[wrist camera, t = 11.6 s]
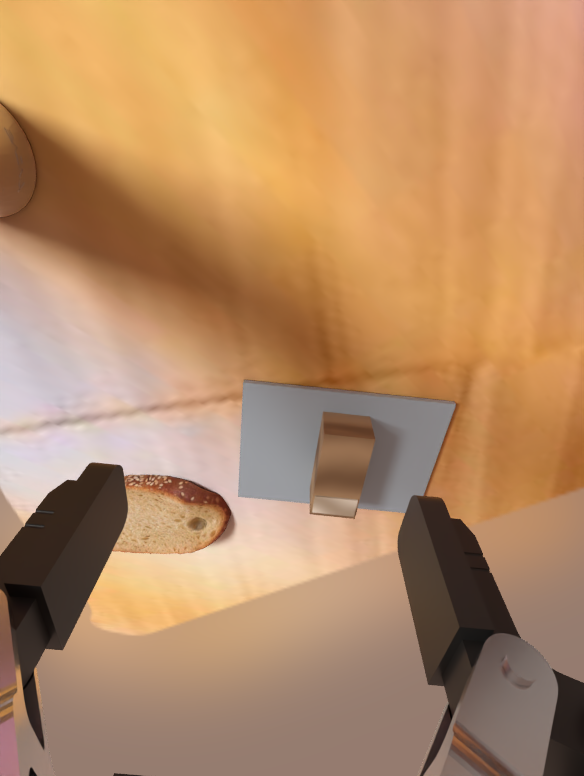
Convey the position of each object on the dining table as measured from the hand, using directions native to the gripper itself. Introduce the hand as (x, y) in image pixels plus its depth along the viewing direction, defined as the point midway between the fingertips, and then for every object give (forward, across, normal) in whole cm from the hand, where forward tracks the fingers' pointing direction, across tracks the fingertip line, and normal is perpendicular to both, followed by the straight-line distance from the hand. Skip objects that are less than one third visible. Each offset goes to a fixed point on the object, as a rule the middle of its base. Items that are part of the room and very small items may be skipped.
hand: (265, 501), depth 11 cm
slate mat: (+28, -7, +20) cm, 35 cm away
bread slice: (+29, +16, +34) cm, 47 cm away
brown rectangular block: (+28, -7, +20) cm, 35 cm away
